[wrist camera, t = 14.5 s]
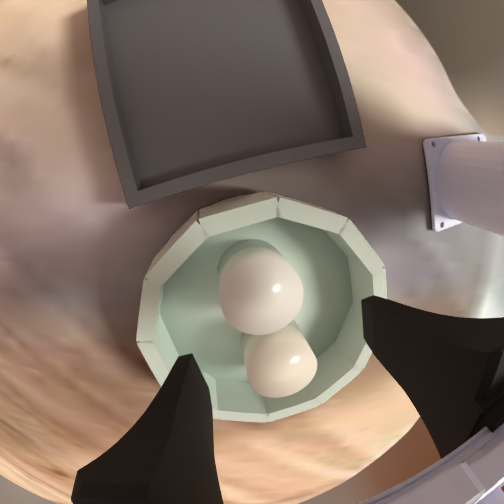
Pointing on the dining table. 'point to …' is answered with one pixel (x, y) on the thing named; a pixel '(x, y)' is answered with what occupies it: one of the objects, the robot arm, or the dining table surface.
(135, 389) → the dining table surface
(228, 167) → the tray
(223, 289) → the pebble
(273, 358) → the pebble
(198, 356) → the bowl
